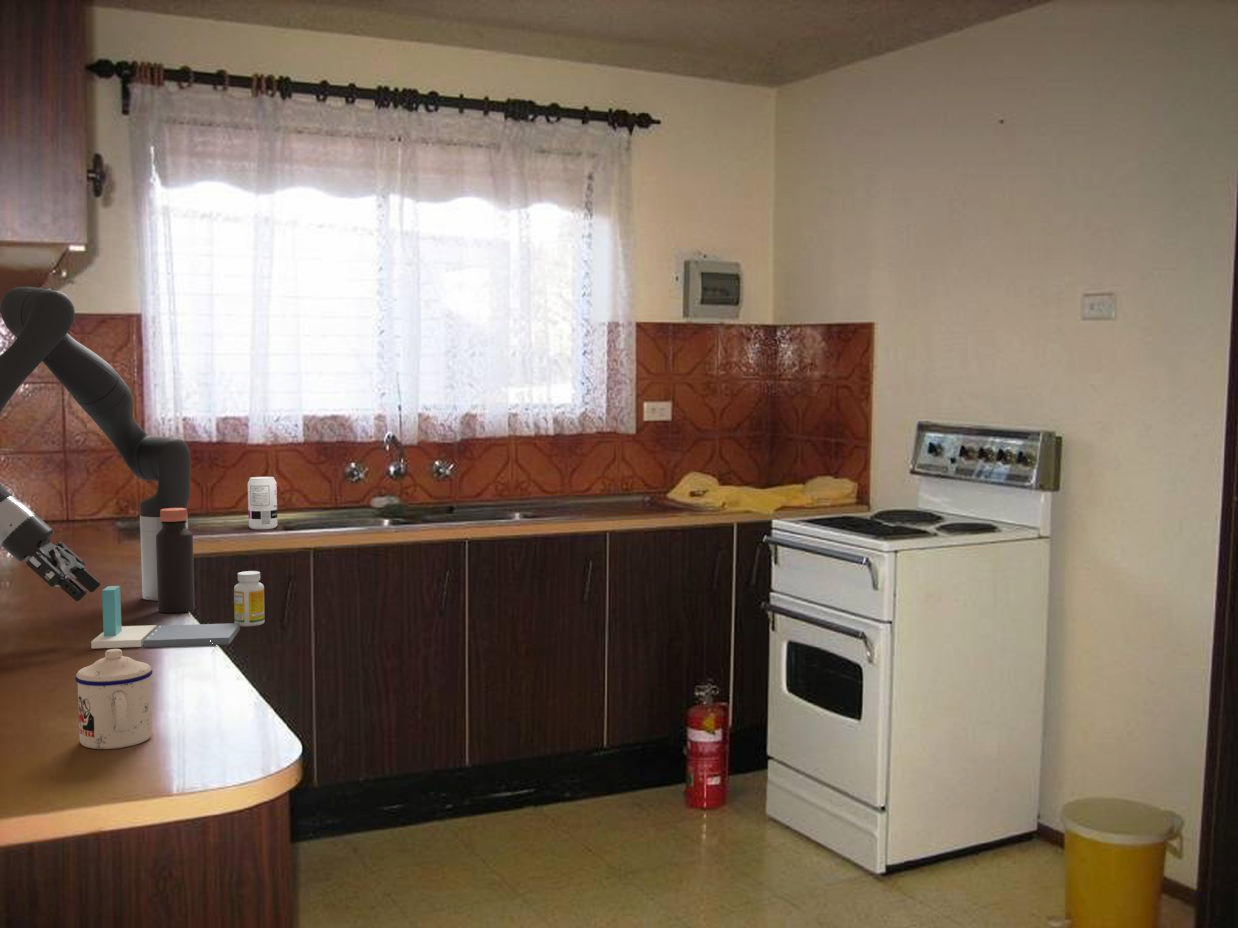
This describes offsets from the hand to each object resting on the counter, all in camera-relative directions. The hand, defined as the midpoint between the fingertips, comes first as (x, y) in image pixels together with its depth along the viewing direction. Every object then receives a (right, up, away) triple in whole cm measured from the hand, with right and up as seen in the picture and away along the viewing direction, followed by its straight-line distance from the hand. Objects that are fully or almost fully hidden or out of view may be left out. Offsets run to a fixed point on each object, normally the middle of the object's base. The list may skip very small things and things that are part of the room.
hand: (89, 592), depth 212 cm
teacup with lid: (+28, -13, -57) cm, 64 cm away
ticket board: (+17, -8, +3) cm, 19 cm away
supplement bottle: (+23, -8, +15) cm, 29 cm away
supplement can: (-14, +3, +151) cm, 151 cm away
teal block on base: (+5, -8, +1) cm, 10 cm away
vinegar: (+5, -7, +28) cm, 29 cm away
